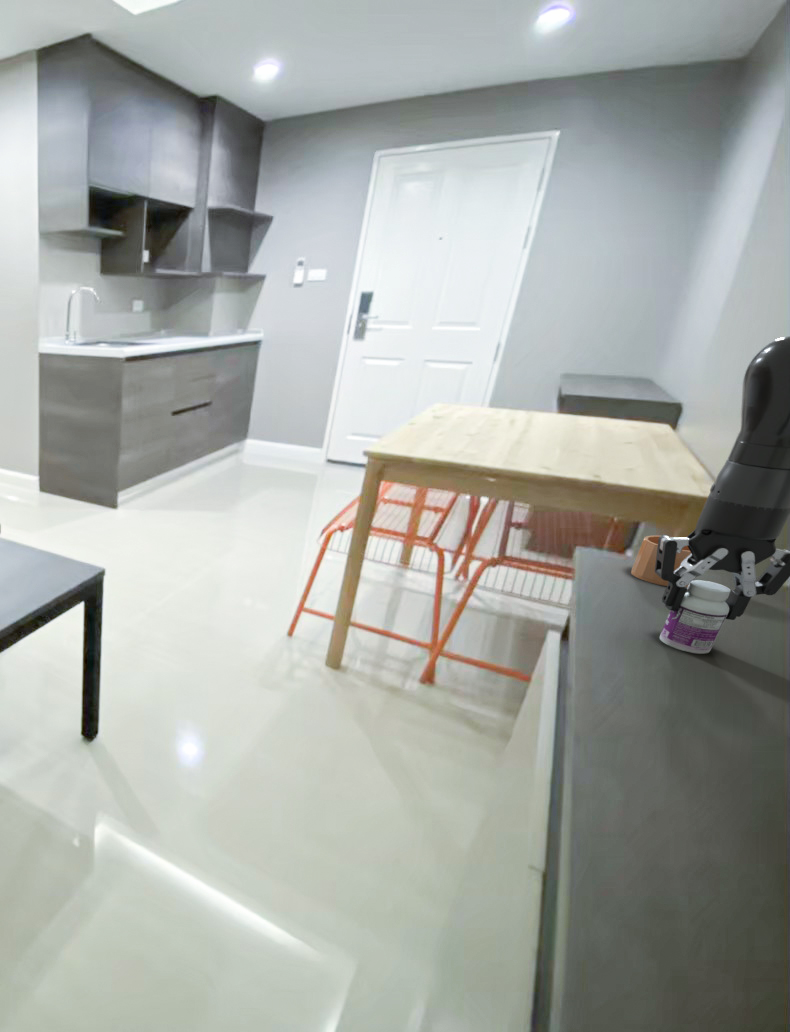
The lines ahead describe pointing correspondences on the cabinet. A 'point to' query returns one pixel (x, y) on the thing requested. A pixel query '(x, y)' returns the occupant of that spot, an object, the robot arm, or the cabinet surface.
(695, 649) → the pill bottle
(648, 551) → the holder
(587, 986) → the cabinet surface
